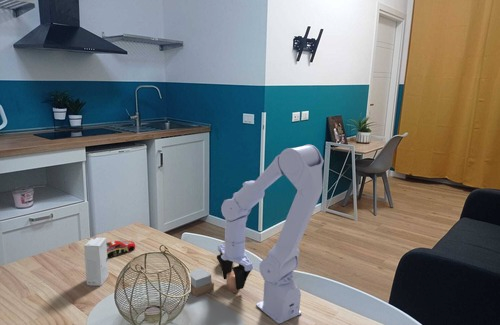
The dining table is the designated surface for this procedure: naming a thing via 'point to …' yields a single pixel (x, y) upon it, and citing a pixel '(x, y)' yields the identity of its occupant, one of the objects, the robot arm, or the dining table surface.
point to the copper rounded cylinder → (231, 282)
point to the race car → (119, 247)
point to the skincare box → (96, 261)
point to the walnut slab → (202, 289)
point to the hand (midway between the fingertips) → (233, 283)
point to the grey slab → (200, 278)
